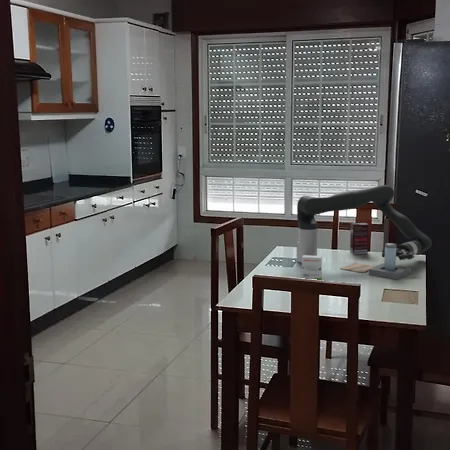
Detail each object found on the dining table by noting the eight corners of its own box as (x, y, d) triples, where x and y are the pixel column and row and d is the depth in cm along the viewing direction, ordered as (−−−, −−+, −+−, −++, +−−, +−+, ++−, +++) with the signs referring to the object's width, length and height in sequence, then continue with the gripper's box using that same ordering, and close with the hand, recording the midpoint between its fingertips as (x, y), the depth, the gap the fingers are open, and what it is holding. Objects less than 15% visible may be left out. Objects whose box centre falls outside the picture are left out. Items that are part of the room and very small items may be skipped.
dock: (368, 274, 290) (368, 269, 290) (382, 268, 301) (382, 263, 300) (396, 279, 281) (396, 274, 281) (410, 273, 292) (410, 268, 291)
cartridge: (381, 273, 291) (383, 244, 288) (386, 271, 294) (388, 242, 292) (391, 275, 288) (393, 246, 285) (396, 273, 291) (398, 244, 289)
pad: (340, 269, 300) (340, 268, 300) (354, 263, 310) (354, 262, 310) (362, 273, 292) (362, 272, 292) (376, 267, 303) (376, 266, 303)
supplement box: (364, 251, 336) (365, 222, 333) (368, 253, 331) (369, 224, 328) (349, 252, 335) (350, 223, 332) (352, 254, 330) (353, 224, 327)
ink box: (321, 281, 279) (322, 255, 277) (321, 284, 275) (321, 257, 272) (302, 280, 281) (302, 254, 279) (301, 283, 276) (301, 257, 274)
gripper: (393, 241, 307) (377, 246, 295) (421, 245, 297) (406, 250, 285) (392, 255, 308) (377, 261, 296) (420, 260, 299) (405, 266, 287)
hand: (391, 256), depth 291 cm, fingers open, 8 cm apart
